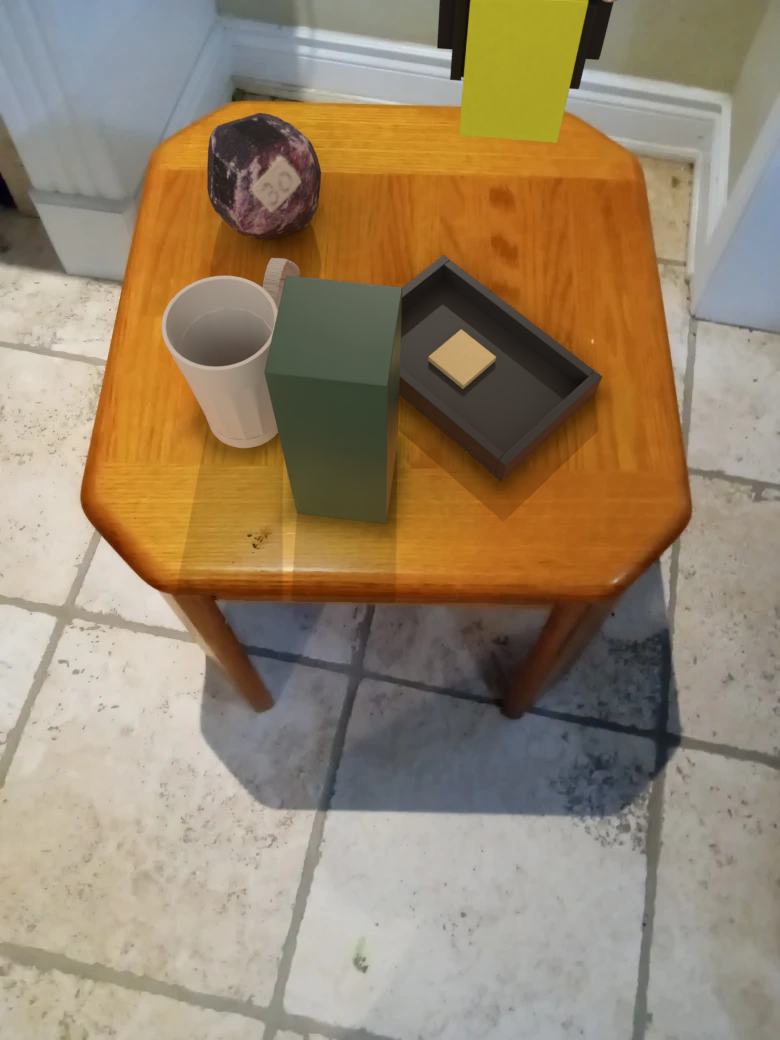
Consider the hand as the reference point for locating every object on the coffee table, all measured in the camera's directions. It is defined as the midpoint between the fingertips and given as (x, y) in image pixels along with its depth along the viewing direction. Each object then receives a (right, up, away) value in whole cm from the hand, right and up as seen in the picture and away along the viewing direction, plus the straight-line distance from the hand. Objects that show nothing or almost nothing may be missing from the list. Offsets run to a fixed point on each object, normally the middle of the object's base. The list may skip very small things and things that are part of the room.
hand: (515, 60), depth 37 cm
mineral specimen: (-17, +7, +38) cm, 42 cm away
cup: (-18, -13, +29) cm, 36 cm away
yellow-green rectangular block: (0, -1, +1) cm, 1 cm away
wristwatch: (-15, -3, +34) cm, 37 cm away
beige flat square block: (0, -8, +31) cm, 32 cm away
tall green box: (-9, -18, +27) cm, 34 cm away
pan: (+1, -9, +31) cm, 32 cm away
